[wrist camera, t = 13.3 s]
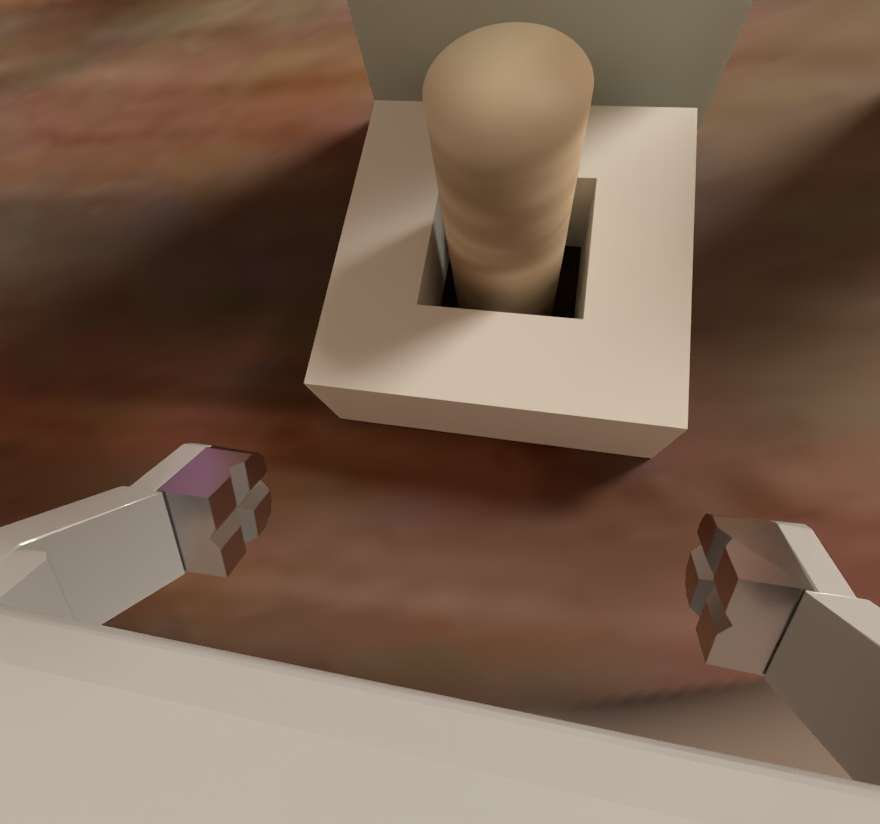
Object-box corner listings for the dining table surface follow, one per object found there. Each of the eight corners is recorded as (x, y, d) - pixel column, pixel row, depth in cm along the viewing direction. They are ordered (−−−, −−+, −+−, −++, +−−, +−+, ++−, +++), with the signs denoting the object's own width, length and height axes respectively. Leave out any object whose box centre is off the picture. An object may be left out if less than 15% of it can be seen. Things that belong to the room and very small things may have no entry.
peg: (451, 338, 21) (408, 149, 12) (465, 254, 23) (437, 22, 13) (549, 348, 21) (586, 156, 11) (559, 261, 22) (600, 21, 12)
